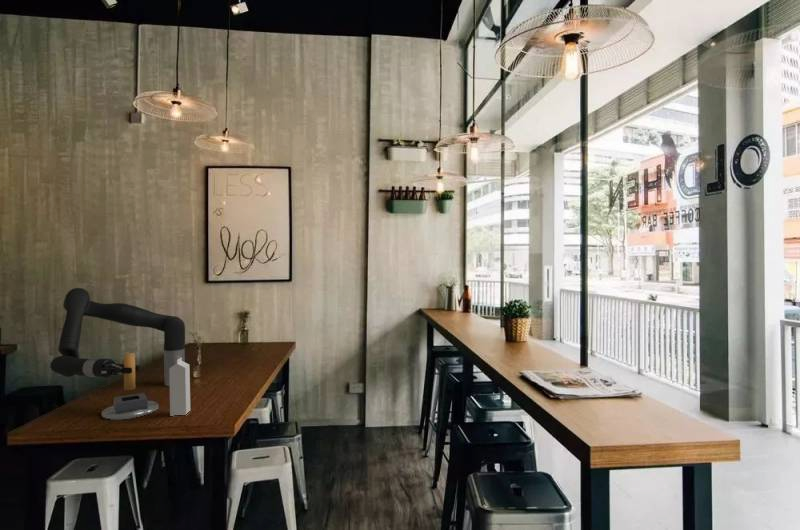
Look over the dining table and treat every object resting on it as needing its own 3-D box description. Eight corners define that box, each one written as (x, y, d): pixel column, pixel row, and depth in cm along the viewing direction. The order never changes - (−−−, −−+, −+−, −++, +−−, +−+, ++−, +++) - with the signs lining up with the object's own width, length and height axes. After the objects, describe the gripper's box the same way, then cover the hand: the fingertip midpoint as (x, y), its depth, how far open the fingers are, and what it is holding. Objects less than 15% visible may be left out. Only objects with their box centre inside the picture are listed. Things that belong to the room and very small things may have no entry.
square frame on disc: (155, 401, 206) (154, 388, 206) (161, 413, 189) (161, 399, 189) (100, 410, 195) (100, 396, 195) (102, 423, 178) (102, 409, 178)
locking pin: (134, 387, 195) (134, 352, 194) (135, 389, 191) (135, 354, 191) (123, 388, 192) (123, 354, 192) (124, 390, 189) (124, 355, 189)
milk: (190, 411, 192) (189, 356, 192) (186, 415, 186) (185, 359, 186) (174, 412, 191) (173, 357, 191) (169, 416, 185) (169, 360, 185)
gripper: (84, 362, 188) (122, 363, 184) (112, 355, 201) (148, 356, 198) (84, 381, 188) (122, 383, 184) (112, 372, 202) (148, 374, 198)
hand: (135, 369), depth 191 cm, fingers closed on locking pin, 4 cm apart
